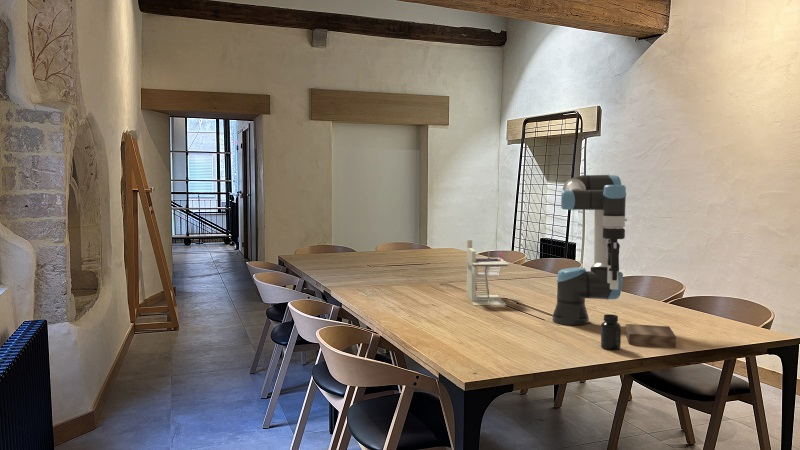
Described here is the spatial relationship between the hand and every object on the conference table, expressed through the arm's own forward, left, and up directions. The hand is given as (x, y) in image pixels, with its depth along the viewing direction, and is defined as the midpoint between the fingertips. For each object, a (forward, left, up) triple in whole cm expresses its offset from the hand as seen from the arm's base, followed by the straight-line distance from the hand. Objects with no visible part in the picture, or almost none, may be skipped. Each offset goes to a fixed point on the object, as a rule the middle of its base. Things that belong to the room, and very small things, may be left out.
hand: (612, 286), depth 213 cm
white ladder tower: (-55, +77, -23) cm, 97 cm away
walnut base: (+15, +15, -23) cm, 31 cm away
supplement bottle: (0, 0, -23) cm, 23 cm away
